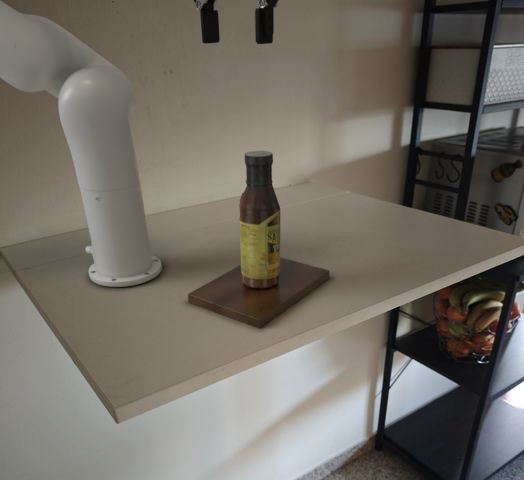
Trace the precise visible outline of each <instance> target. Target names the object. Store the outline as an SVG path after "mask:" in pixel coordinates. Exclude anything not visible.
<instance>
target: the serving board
mask: <svg viewBox="0 0 524 480" xmlns="http://www.w3.org/2000/svg"><path fill="white" fill-rule="evenodd" d="M330 272H331V271H330V270H329V269H325V268H322V267H319V266H314V265H310V264H307V263H304V262H299V261H295V260H292V259H288V258H285V257H282V256H280V273H279V281H278V283H277V284H275V285H274V286H271V287H268V288H264V289H258V288H250V287H249V286H246V285H245V284H244V283H243V280H242V273H241V264H240V265H237V266H235V267H234V268H233V269H231V270H228V271H226V272H225V273H223V274H222V275H220V276H218V277H216V278H214V279H212V280H211V281H209V282H207V283H206V284H203V285H202V286H200V287H197V288H196V289H195V290H193V291H190V292H189V293H187V300H188V303H190V304H191V305H195V306H198V307H199V308H203V309H205V310H209V311H211V312H214V313H217V314H219V315H222V316H225V317H227V318H231V319H232V320H236V321H238V322H241V323H244V324H247V325H249V326H252V327H254V328H258V329H261V328H262V327H264V326H265V325H266V324H268V323H269V322H271V321H272V320H273V319H275V318H276V317H277V316H279V315H280V314H282V313H283V312H285V311H286V310H287V309H289V308H290V307H292V306H294V304H296V303H298V302H299V301H300V300H301V299H303V298H304V297H306V296H307V295H309V294H310V293H311V292H313V291H314V290H315V289H316V288H318V287H320V286H321V285H322V284H324V283H325V282H327V281H328V280H329V279H330V274H331V273H330Z"/></svg>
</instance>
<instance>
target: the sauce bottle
mask: <svg viewBox="0 0 524 480" xmlns="http://www.w3.org/2000/svg"><path fill="white" fill-rule="evenodd" d="M273 163H274V154H273V152H271V151H267V150H252V151H248V152H245V153H244V165H245V173H246V174H245V176H246V179H245V184H246V187H245V188H244V191H243V192H242V193H241V196H240V199H239V205H238V206H239V219H238V222H239V251H240V265H241V273H242V280H243V283H244V284H245V285H246V286H249V287H250V288H258V289H264V288H268V287H271V286H274V285H275V284H277V283H278V281H279V273H280V257H281V206H280V203H279V200H278V198H277V197H278V196H277V194H276V191H275V189H274V185H273V182H274V181H273V170H272V169H273Z"/></svg>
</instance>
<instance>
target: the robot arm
mask: <svg viewBox="0 0 524 480" xmlns="http://www.w3.org/2000/svg"><path fill="white" fill-rule="evenodd" d="M218 1H219V0H193V2H194V4H195V9H196V10H197V11H199V15H200V28H201V29H200V30H201V41H202V43H203V44H205V45H207V44H217V43H219V42H220V39H221V38H220V21H219V10H218V9H215V8H216V5H217V3H218ZM255 2H256V3H257V5H258V7H259V8H255V10H254V24H255V25H254V26H255V27H254V29H255V30H254V32H255V43H256V44H257V45H268V44H273V42H274V33H275V29H274V28H275V24H274V23H275V21H274V18H275V17H274V16H275V15H274V13H275V9H276V8H277V7H278V4H279V0H255ZM0 79H2V80H3V81H4V82H6V83H7V84H8V85H10V86H11V87H13V88H15V89H17V90H18V91H22V92H24V93H25V92H26V93H38V92H42V91H43V92H44V91H46V92H47V93H49V94H51V95H52V96H54V97H55V98H56V99H58V102H57V103H58V104H57V105H58V106H57V107H58V108H57V109H58V116H59V120H60V123H61V127H62V130H63V133H64V137H65V139H66V142H67V145H68V149H69V151H70V154H71V155H70V156H71V158H72V162H73V166H74V170H75V176H76V179H77V184H78V187H79V191H80V196H81V200H82V205H83V211H84V214H85V219H86V223H87V227H88V233H89V237H90V243H91V245H87V246H86V247H85V253H87V254H90V255H92V258H93V263H92V264H91V265H90V267H88V276H89V280H91V281H92V282H93V283H95V284H96V285H99V286H104V287H110V288H123V287H125V288H126V287H131V286H137V285H141V284H144V283H146V282H149V281H152V280H153V279H155V278H156V277H158V275H160V273H161V272H162V271H163V265H162V260H161V259H160V258H159V257H157V256H156V255H153V254H152V250H151V244H150V237H149V231H148V224H147V223H148V222H147V217H146V210H145V203H144V198H143V197H144V196H143V191H142V185H141V179H140V178H141V177H140V172H139V166H138V161H137V154H136V149H135V145H134V141H133V135H132V130H131V124H130V120H131V119H132V118H133V115H134V114H135V110H136V105H137V102H136V101H137V98H136V92H135V89H134V87H133V84H132V83H131V81H130V80H129V78H128V77H127V75H126V74H125V73H123V72H122V71H121V69H119V68H118V67H117V66H115V65H114V64H113V63H112V62H110V61H109V60H107V59H106V58H104V57H103V56H102V55H100V54H99V53H98V52H96V51H95V50H94V49H93V48H91V47H90V46H88V45H87V44H86V43H85V42H83V41H82V40H80V39H79V38H77V37H76V36H75V35H73V34H72V33H71V32H69V31H68V30H66V29H65V28H63V27H62V26H61V25H60V24H58V23H56V22H54V21H53V20H51V19H49V18H47V17H45V16H41V15H37V14H27V13H23V12H20V11H18V10H16V9H15V8H13V7H12V6H10V5H8V4H7V3H5V2H4V1H2V0H0Z"/></svg>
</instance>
